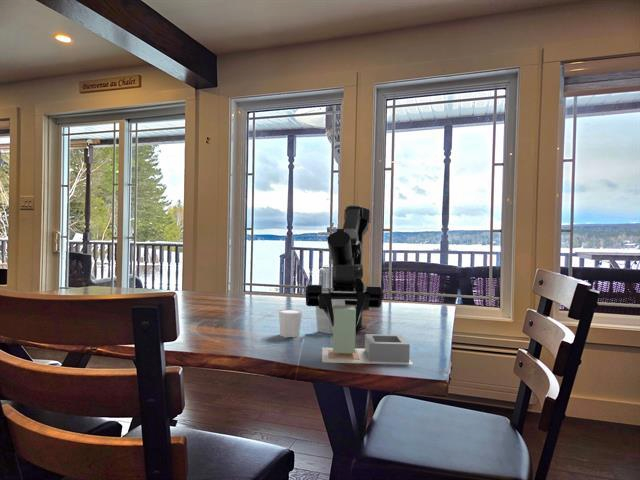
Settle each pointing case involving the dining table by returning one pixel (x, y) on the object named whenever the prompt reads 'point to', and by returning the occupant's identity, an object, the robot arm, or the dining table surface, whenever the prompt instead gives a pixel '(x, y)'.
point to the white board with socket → (374, 351)
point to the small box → (326, 318)
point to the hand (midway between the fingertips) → (344, 325)
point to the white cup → (290, 323)
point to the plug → (344, 329)
